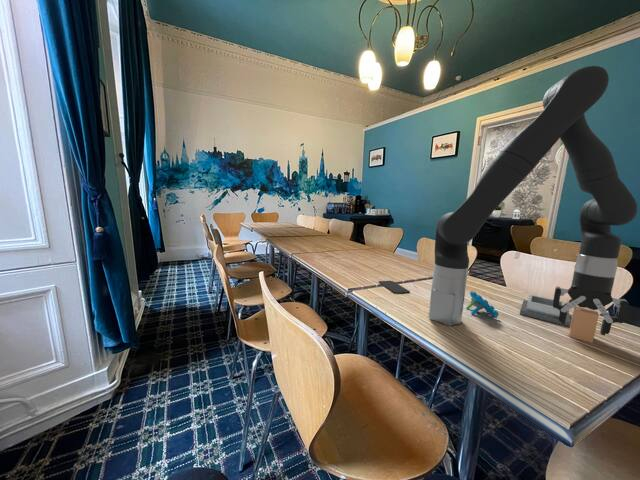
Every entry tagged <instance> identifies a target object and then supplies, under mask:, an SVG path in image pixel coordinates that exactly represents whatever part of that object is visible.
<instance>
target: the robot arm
mask: <svg viewBox="0 0 640 480" xmlns="http://www.w3.org/2000/svg"><path fill="white" fill-rule="evenodd" d="M609 79H610V77H609V73H608V71H607V70H606V69H605V68H604V67H602V66H599V65H589V66H585V67H581V68H578V69H576V70H574V71H572V72H571V73H569V74H567V75H566V76H565V77H563V78H561V79H560V80H559V81H556V83H554V84H553V85H551V86H550V87H549V89H547V91H546V92H545V94H544V96H543V99H542V107H543V110H542V111H541V112H540V114H539V115H537V117H536V118H535V119H534V120H532V121H531V122H530V123H529V124H528V125H527V126H525V128H523V129H522V130H521V131H520V132H519V133H517V134H516V135H515V136H514V137H513V138H511V140H510V141H508V142H507V143H506V144H505V145H504V146H503V148H501V149H500V151H498V153H497V154H496V156H495V157H494V158H493V159H492V160H491V161H490V162H489V164H487V166H486V168H485V169H484V170H483V172H482V174H481V176H480V178H479V179H478V182H477V184H476V185H475V187H474V189H473V191H472V192H471V193H470V194H469V196H468V197H467V198H466V199H465V201H464V202H463V203H461V205H460V206H459V207H457V209H456V210H454V211H451V212H447V213H444V214H443V215H442V216H441V217H440V218H439V220H438V221H437V224H436V231H435V240H434V265H433V273H432V274H433V275H432V281H431V282H432V283H431V290H430V291H431V292H430V301H429V308H428V309H429V310H428V311H429V312H428V316H429V319H430V320H431V321H434V322H436V323H440V324H444V325H447V326H450V327H451V326H455V325H460V324H461V323H462V320H463V319H462V318H463V311H464V303H465V295H466V294H465V293H466V288H467V281H468V273H469V266H470V258H469V253H468V244H469V242H471V241H472V240H473V239H474V237H476V235H477V234H478V233H479V231H480V230H481V228H482V227H483V225H484V224H485V223H486V222H487V220H488V219H489V217H490V216H491V215H492V214H493V213H494V211H496V209H497V208H498V207H499V206H500V205H501V204H502V203H503V202H504V201H505V200H506V198H507V197H509V196H510V194H511V193H512V192H513V191H514V190H516V188H517V187H518V186H520V184H521V183H522V182H523V181H524V180H525V179H526V177H527V176H528V175H529V174H530V173H531V172H532V171H533V170H534V168H535V167H536V166H537V165H538V164H539V163H540V162H541V161H542V159H543V158H544V157H545V156H546V155H547V154H548V153H549V151H550V150H551V149H552V148H553V147H554V145H555V144H556V143H557V142H558V141H559V140H560V141H561V142H562V144H563V146H564V148H565V150H566V153H567V155H568V157H569V160H570V161H571V165H572V168H573V171H574V174H575V175H574V176H575V178H576V181H577V184H578V186H579V189H580V190H581V192H583V193H587V194H589V195H591V196H592V197H593V198H592V199H589V200H588V201H586V202H585V203H584V204H583V205H582V206H581V209H580V212H579V217H578V221H579V228H580V234H581V242H580V246H579V251H578V252H579V253H578V256H577V258H576V262H575V265H574V270H573V274H572V275H573V276H572V280H571V285H570V287H569V288H568V289H567V288H562V287H560V286H556V287H555V289H554V295H553V307H554V308H557V309H559V310H560V314H559V322H561V324H563V325H565V321H566V316H567V311H568V310H569V311H570V310H571V309H574V307H575V306H579V307H583V308H589V309H592V310H597V311H599V312H600V314H601V315H602V317H603V319H602V321H601V326H600V331H599V333H600V335H602V336H606V335H609V334H610V332H611V328H612V324H614V323H618V324H623V323H624V322H625V320H626V316H627V312H628V309H629V304H630V303H629V302H628V301H627V300H626V299H625V298H615V297H612V292H613V288H614V282H615V278H616V275H617V270H618V258H619V253H620V250H621V244H622V239H621V238H620V237H619V236H617V235H616V234H613V233H612V231H611V226H624V225H627V224H629V223H630V222H632V221H633V220H634V219H635V218H636V216H637V213H638V203H637V200H636V198H635V197H634V195H632V193H631V191H630V190H629V189H628V187H627V186H626V185H625V183H624V182H623V181H622V180H621V179H620V177H619V173H618V170H617V166H616V163H615V160H614V157H613V155H612V152H611V151H610V149H609V148H608V147H607V145H606V144H605V143H604V142H603V141H602V140H601V139H600V138H599V137H598V136H597V135H596V133H594V131H593V130H592V129H591V127H590V126H589V124H588V123H587V120H586V117H585V113H587V111H589V109H590V108H592V107H593V106H595V104H597V103H598V101H599V100H600V99H601V98H602V97H603V95H604V93H605V92H606V90H607V88H608V85H609ZM565 294H568V296H569V297H570V299H568V300H567V301H566V302H565V304H564V305H560V304H559V301H561V297H563V296H565ZM612 303H614V306H615V307H617V309H616V313H615V315H612V316H611V315H610V313H609V312H608V311H607V309H606V306H608V305H610V304H612ZM563 325H562V326H563Z"/></svg>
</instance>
